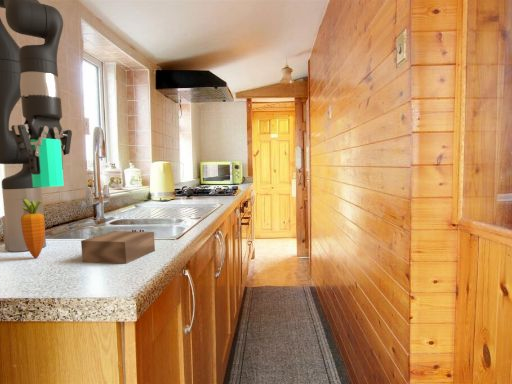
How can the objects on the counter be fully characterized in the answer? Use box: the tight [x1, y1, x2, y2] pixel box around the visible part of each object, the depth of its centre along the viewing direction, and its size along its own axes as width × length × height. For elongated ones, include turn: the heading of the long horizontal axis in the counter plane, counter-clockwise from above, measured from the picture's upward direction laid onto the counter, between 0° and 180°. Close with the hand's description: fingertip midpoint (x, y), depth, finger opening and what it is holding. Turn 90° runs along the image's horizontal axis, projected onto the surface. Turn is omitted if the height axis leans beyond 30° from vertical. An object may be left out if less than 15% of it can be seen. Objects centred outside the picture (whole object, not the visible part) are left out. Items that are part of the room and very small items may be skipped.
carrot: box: [21, 199, 46, 259], centre depth 87 cm, size 5×5×15 cm
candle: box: [30, 138, 65, 188], centre depth 78 cm, size 6×6×12 cm
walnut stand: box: [80, 230, 156, 264], centre depth 86 cm, size 12×12×5 cm
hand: (47, 173), depth 78 cm, fingers closed on candle, 4 cm apart
